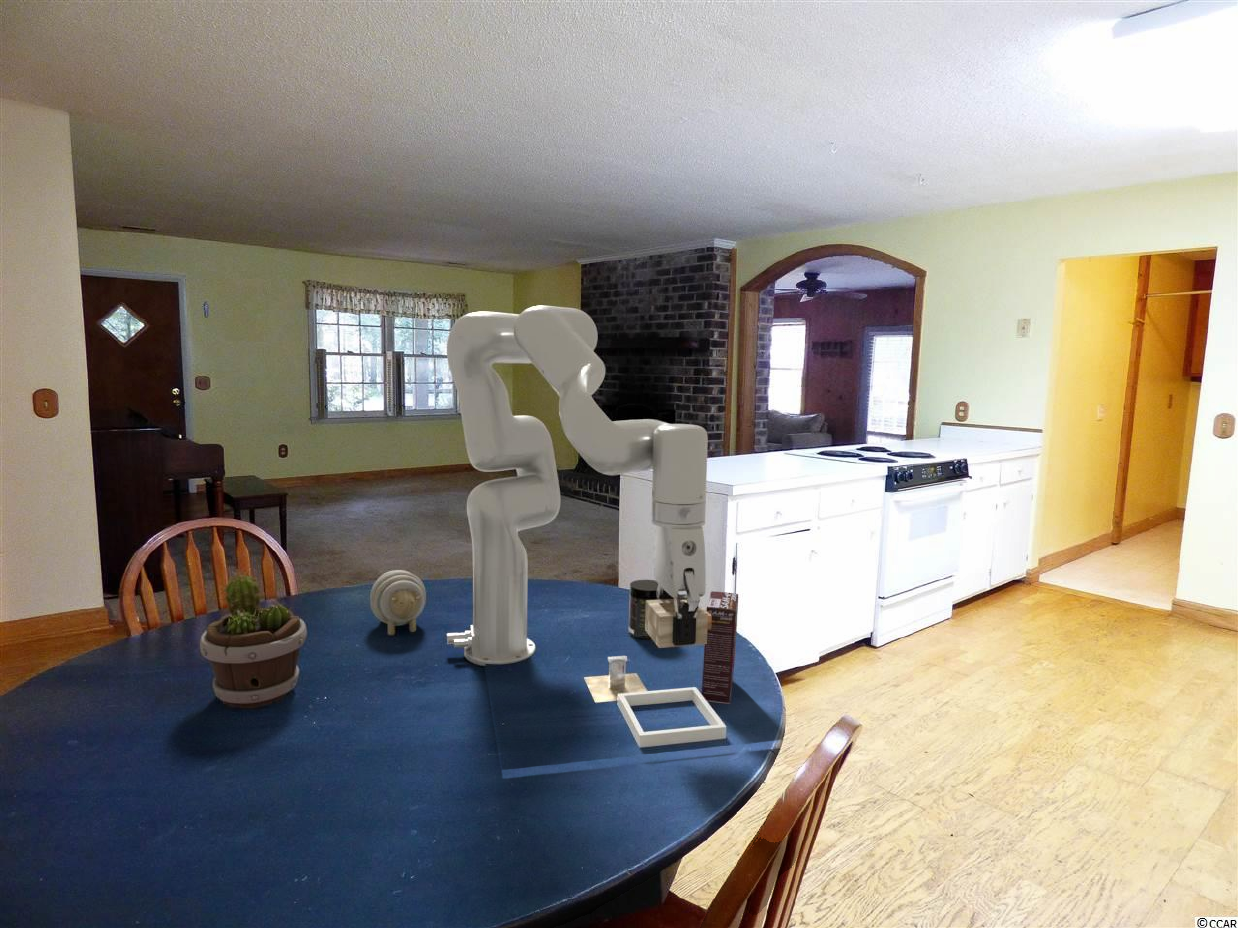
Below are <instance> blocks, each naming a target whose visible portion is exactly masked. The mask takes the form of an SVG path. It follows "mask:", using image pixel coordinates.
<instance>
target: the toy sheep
mask: <svg viewBox="0 0 1238 928" xmlns="http://www.w3.org/2000/svg"><path fill="white" fill-rule="evenodd" d="M369 595H370V596H369V607H370V609H371V612H372V614H373V615H374V616H375V617H376V619H377V620H379V621H380V623H381V622H382V623H384V624H387V635H388V636H394V635H395V633H396V630H395V629H396V627H399V626H404V625H406V624H408V629H409V632H410V633H415V632H416V631H417V618H418V617H419V616H420V614H422V612H423V610H424V608H425V606H426V601H427V592H426V588H425V585H424V583H423V581H422V580H421V579H420V578H419V577H418V576H417V575H416V574H413V573H411V572H410V571H407V570H403V569H396V570H394V569H393V570H390V571H386V572H384V573H383V574H381V575H380V576H379V577H378V578H377V580H376V581H375V582H374V583H373V585H372V587H371V590H370V593H369Z"/></svg>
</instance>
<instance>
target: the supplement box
mask: <svg viewBox="0 0 1238 928" xmlns="http://www.w3.org/2000/svg"><path fill="white" fill-rule="evenodd" d="M709 595H710V596H709V600H708V604H707V605H706V608H705V609H706V611H707V612H708V613H709V614H711V615H712V621H711V629H707V644H703V645H704V646H703V647H704V648H703V663H702V664H703V665H702V677H701V679H702V680H701V681H702V682H701V692H700V693H701V694H702V696H703V697H704V698H705V700H706V701H707V702H708V703H709V702H711V703H719V704H725V705H726V704H728V705H730V704H731V698H732V689H733V683H734V674H735V673H734V670H735V658H736V657H735V656H736V646H737V645H736V641H737V630H738V629H737V626H738V610H739V608H738V607H739V594H738V593H733V592H725V591H712V590H711V591H710V593H709Z"/></svg>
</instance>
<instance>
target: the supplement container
mask: <svg viewBox="0 0 1238 928" xmlns="http://www.w3.org/2000/svg"><path fill="white" fill-rule="evenodd" d="M657 588H658V583H657V582H656V580H655V579H639V580H638V579H637V580H633V581H631V582H630V583H629V602H628V603H629V604H628V605H629V606H628V636H629V638H634V639H637V640H644V641H645V640H646V641H653V640H652V638H651V637H650V636H649V634H648V633H647V632H646V631H645V609H646V600H657V599H661V598H657Z"/></svg>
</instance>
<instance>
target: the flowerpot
mask: <svg viewBox="0 0 1238 928" xmlns="http://www.w3.org/2000/svg"><path fill="white" fill-rule="evenodd" d="M237 567H238V570H236V572H232V571H231V572H229V573H228V574H230V573H233V574H230V575H229V578H226V579H227V581H228V583H227V581H226V582H224V583H225V585H222V584H221V586H220V587H221V588H222V589H221V588H219V589H220V591H222V590H223V591H222V592H221V594H223V595H224V596H222V598H219V599H218V600H219V602H221V605H222V604H225V606H224V609H225V613H226V615H223V616H222V617H220V619H219V620H217V621H213V622H210V624H208V625H207V628H206V630H205V631H204V632H203V633H202V635H201V637H200V642H199V650H200V652H201V653H200V654H202V656H203V658H205V659H206V660H209V664H210V666H211V670H212V673H213V675H214V678H213V680H212V687H213V691H214V694H215V696H216V698H218V699H219V700H220V701H221V702H222V704H223V705H226V706H228V707H230V708H237V707H239V708H241V709H254V708H256V709H257V708H262V707H266V706H269V705H272V704H273V702H275V703H276V702H280V701H281V700H283V699H284V698H285V697H286V695H287V694H289V693H290V694H291V693H292V691H293V689H294V688H295V687H296V685H297V683H298V680H299V675H300V668H299V666H298V665H297V664H298V661H299V655H300V650H301V647H303V644H305V642H306V639H307V633H308V631H307V630H308V629H307V626H306V623H305V621H304V620H303V619H302V618H300V616H299V615H294V613H293V612H292V611H291V609H292V607H290V608H287V607H285V606H286V605H285V604H288V603H287V601H286V602H285V601H283V602H282V603H279V602H278V600H277V599H275V600H274V599H273V598H271V597H270V599H271V600H270V601H272V602H271V603H268V602H266V604H265V605H264V604H263V603H265V601H264V599H263V595H264V593H263V592H261V591H263V590H264V589H266V588H265V586H264V585H262V583H260V580H259V577H256V576H255V575H253V577H252V575H249V573H250V571H247V570H245V571H243V570H244V569H245V568H246V566H244V567H243V568H242V570H240V566H239V565H237ZM258 582H259V583H258ZM263 587H264V588H263ZM260 594H261V595H260ZM220 600H223V601H220ZM227 604H228V605H227ZM260 604H261V605H260ZM262 604H263V606H262ZM266 605H267V607H266ZM226 606H227V607H226ZM264 607H265V608H264ZM227 612H228V613H227Z"/></svg>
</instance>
